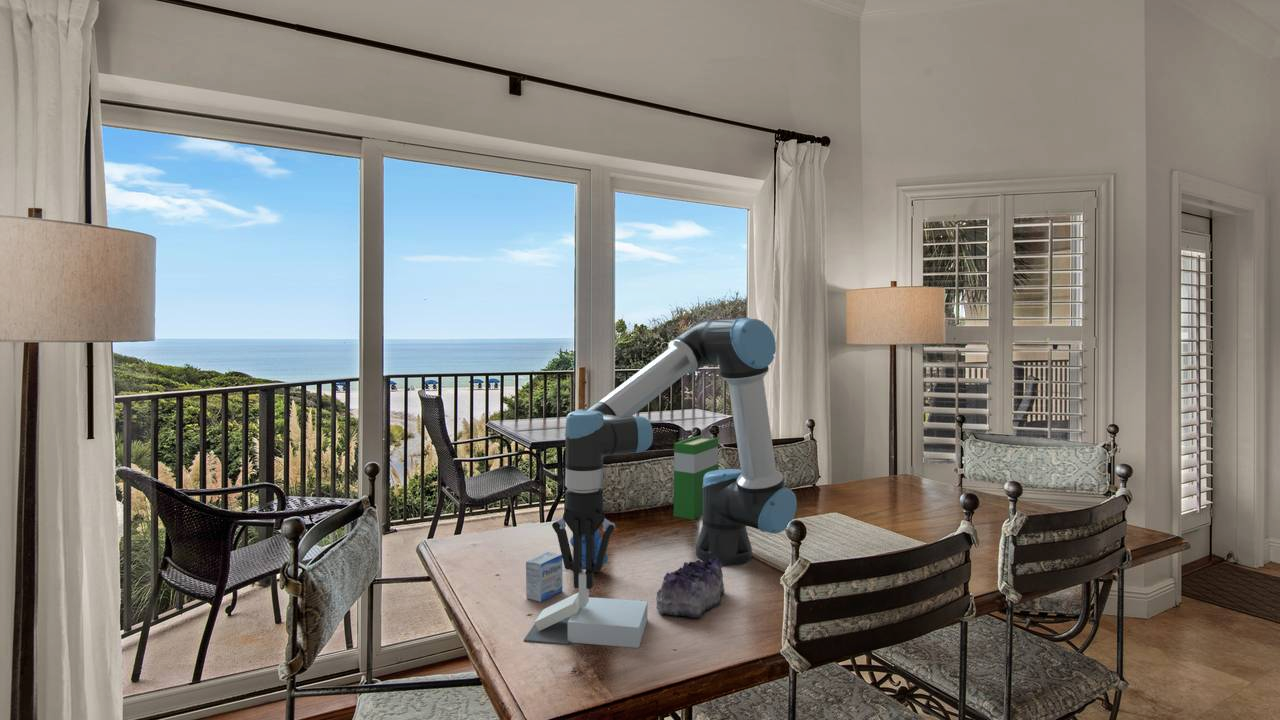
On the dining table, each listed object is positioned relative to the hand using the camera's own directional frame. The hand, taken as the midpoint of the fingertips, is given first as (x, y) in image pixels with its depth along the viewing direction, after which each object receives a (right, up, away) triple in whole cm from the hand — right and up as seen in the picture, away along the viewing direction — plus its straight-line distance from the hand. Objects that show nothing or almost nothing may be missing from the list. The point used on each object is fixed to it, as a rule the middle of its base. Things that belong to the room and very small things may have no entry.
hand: (583, 603), depth 131 cm
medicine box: (-10, -5, +17) cm, 20 cm away
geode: (+23, -5, +13) cm, 27 cm away
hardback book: (+30, -2, +86) cm, 91 cm away
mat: (-6, -5, +1) cm, 8 cm away
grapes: (-2, -4, +32) cm, 32 cm away
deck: (+5, -5, 0) cm, 7 cm away
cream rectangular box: (-4, -3, +1) cm, 5 cm away
